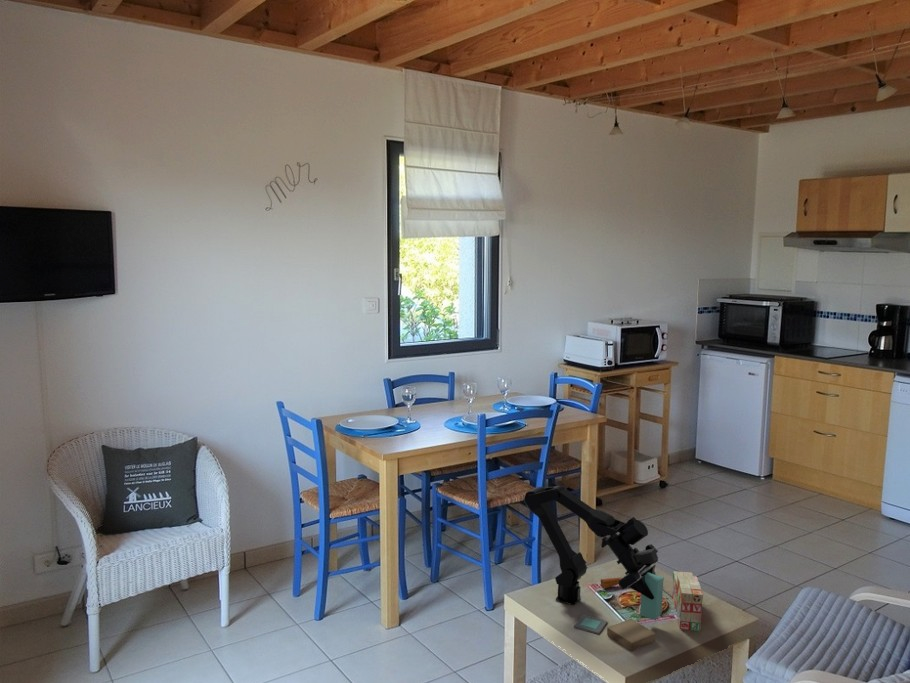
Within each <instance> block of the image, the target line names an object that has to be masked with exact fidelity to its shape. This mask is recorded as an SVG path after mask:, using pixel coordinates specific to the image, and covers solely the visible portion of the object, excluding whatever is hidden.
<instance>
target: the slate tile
mask: <svg viewBox="0 0 910 683" xmlns="http://www.w3.org/2000/svg"><path fill="white" fill-rule="evenodd" d="M607 624H608V621H607V620H604V619H600V618H597V617H593V616H590V615H585V614H582V615H581V616H580V617H579V619H577V621H576V622H575V624H574V625H573V628H574V629H579V630H580V631H585V632H589V633H592V634H595V635H600V634H601V632H602V631H603V629H604V628H605V626H606V625H607Z"/></svg>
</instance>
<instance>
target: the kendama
mask: <svg viewBox="0 0 910 683" xmlns="http://www.w3.org/2000/svg"><path fill="white" fill-rule="evenodd" d="M654 574H655V575H657V574H656V572H655V570H654ZM640 575H641V573H640ZM622 577H623V576H622ZM622 577H611V578H601V579H600V586H601V588H602V587H603V588H606V589H609V588H611V587H614V586H618V585H619V580H620V579H621V578H622ZM603 588H602V589H603Z"/></svg>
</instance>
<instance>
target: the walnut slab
mask: <svg viewBox="0 0 910 683" xmlns="http://www.w3.org/2000/svg"><path fill="white" fill-rule="evenodd" d="M607 635H608V636H607ZM606 636H607V637H609V638H610V639H611V640H613V641H615V642H616V643H618V644H619V645H621V646H623V647H624V648H626V649H627V650H629V651H630V652H635V651H636V650H638V649H641V648H644V647H645V646H648V645H650V643H651V644H653V643H656V642H655V641H656V640H657V638H656V637H657V633H656V632H655V631H653V630H651V629H649V628H648V627H646V626H645V625H642V624H640V622H637V621H636V620H635V619H632V618H629V619H626V620H624V621H621V622H618V623H616V624H614V625H613V624H612V625H611V626H607V628H606Z"/></svg>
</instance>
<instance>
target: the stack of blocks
mask: <svg viewBox="0 0 910 683" xmlns="http://www.w3.org/2000/svg"><path fill="white" fill-rule="evenodd" d="M671 596H672V599H673V601H674V602H673V605H675V607H674V609H676V610H675V613H676V612H677V615H676V618H678V619H677V624H678V628H679V630H680V629H682V630H681V631H689V630H694V631H693V632H699V631H700V632H701V627H702V613H703V601H704V600H703V599H704V594H703V591H702V587H701V584H700V582H699V579H698V577H697V576H696V575H693V572H687V571H676V570H673V572H672V595H671Z"/></svg>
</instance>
